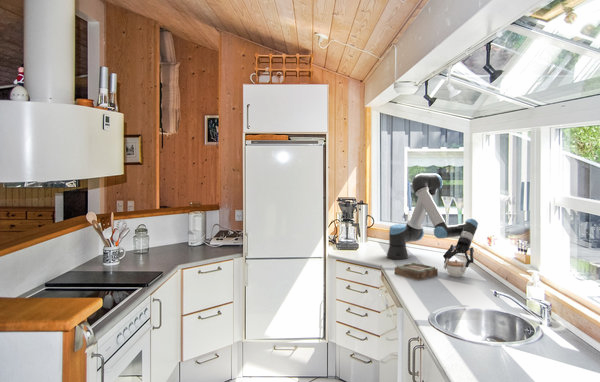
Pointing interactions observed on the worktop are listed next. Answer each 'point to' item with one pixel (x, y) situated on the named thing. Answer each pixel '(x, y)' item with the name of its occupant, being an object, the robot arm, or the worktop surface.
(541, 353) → the worktop surface
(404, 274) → the tray
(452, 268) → the lidded jar
